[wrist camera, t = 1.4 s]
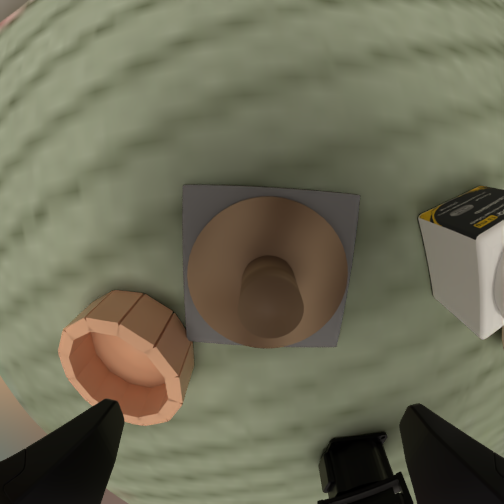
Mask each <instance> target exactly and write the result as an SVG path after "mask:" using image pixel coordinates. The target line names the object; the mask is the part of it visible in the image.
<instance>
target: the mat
mask: <svg viewBox="0 0 504 504" xmlns="http://www.w3.org/2000/svg"><path fill="white" fill-rule="evenodd" d="M261 196H274V197H283V198H287V199H291V200H294V201H297V202H299V203H301V204H304V205H305V206H307V207H309V208H310V209H312V210H314V211H315V212H316V213H318V214H319V215H320V216H321V217H323V218H324V219H325V220H326V221H327V222H328V223H329V224H330V225H331V227H332V228H333V229H334V231H335V232H336V234H337V235H338V237H339V239H340V241H341V243H342V245H343V248H344V251H345V254H346V259H347V266H348V277H347V285H346V289H345V293H344V296H343V299H342V301H341V303H340V305H339V307H338V309H337V311H336V312H335V313H334V315H333V316H332V318H331V319H330V320H329V321H328V322H327V323H326V324H325V325H324V326H323V327H322V328H321V329H320V330H319V331H317V332H316V333H314V334H313V335H311V336H310V337H308V338H306V339H304V340H302V341H300V342H297V343H295V344H292V345H288V346H284V347H337V342H338V338H339V333H340V328H341V324H342V319H343V314H344V308H345V303H346V298H347V292H348V286H349V280H350V274H351V268H352V261H353V254H354V247H355V239H356V231H357V223H358V213H359V203H360V195H357V194H347V193H337V192H327V191H315V190H303V189H289V188H273V187H255V186H231V185H187V184H185V185H183V275H184V300H185V318H186V334H187V338H188V340H189V341H195V342H206V343H218V344H232V345H242V344H239V343H236V342H233V341H231V340H229V339H227V338H225V337H224V336H222V335H220V334H219V333H218V332H216V331H215V330H214V329H213V328H211V327H210V326H209V325H208V324H207V323H206V321H205V320H204V319H203V318H202V316H201V315H200V314H199V312H198V310H197V309H196V307H195V305H194V303H193V300H192V298H191V295H190V291H189V287H188V279H187V270H188V262H189V256H190V253H191V250H192V247H193V245H194V243H195V241H196V239H197V237H198V236H199V234H200V233H201V231H202V230H203V228H204V227H205V226H206V225H207V224H208V223H209V222H210V221H211V220H212V219H213V218H214V217H215V216H216V215H217V214H218V213H220V212H221V211H222V210H224V209H225V208H227V207H229V206H230V205H233V204H235V203H237V202H239V201H242V200H246V199H249V198H254V197H261Z"/></svg>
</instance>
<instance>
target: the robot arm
mask: <svg viewBox="0 0 504 504" xmlns="http://www.w3.org/2000/svg"><path fill="white" fill-rule="evenodd" d="M123 427H124V416H123V413H122V410H121V408H120V405H119V403H118V401H116V400H113V399H108V398H105V399H103V400H102V401H100V402H99V403H97V404H95V405H94V406H92V407H91V408H89V409H88V410H86V411H85V412H83V413H82V414H80V415H78V416H77V417H75V418H74V419H72V420H71V421H69V422H67V423H66V424H64V425H63V426H61V427H59V428H58V429H56V430H55V431H53V432H51V433H50V434H48V435H46V436H45V437H43V438H42V439H40V440H38V441H37V442H35V443H33V444H32V445H30V446H28V447H27V448H26V449H23V450H21V451H20V452H18V453H16V454H14V455H13V456H11V457H9V458H7V459H5V460H3V461H0V504H101V501H102V498H103V495H104V492H105V489H106V486H107V483H108V481H109V478H110V475H111V472H112V469H113V467H114V464H115V460H116V456H117V452H118V448H119V443H120V439H121V435H122V431H123ZM400 433H401V438H402V443H403V448H404V454H405V459H406V464H407V468H408V471H409V475H410V478H411V482H412V485H413V489H414V493H415V496H416V500H417V504H504V458H503V457H501V456H500V455H498V454H497V453H495V452H494V453H493V451H492V450H490V449H489V448H487V447H485V446H484V445H482V444H481V443H479V442H478V441H476V440H475V439H473V438H471V437H470V436H468V435H467V434H465V433H464V432H462V431H461V430H459V429H458V428H456V427H455V426H453V425H452V424H450V423H449V422H447V421H446V420H444V419H443V418H441V417H440V416H438V415H437V414H435V413H434V412H432V411H431V410H429V409H428V408H426V407H425V406H423V405H422V404H413V405H410V406H408V407H407V409H406V411H405V413H404V415H403V417H402V419H401V421H400ZM386 438H387V434H386V433H385V432H384V433H377V434H371V435H364V436H356V437H347V438H337V439H333V440H331V441H330V443H329V445H328V448H327V450H326V452H325V453H324V454H323V456H322V458H321V460H320V463H319V471H320V477H321V484H322V490H323V492H324V493H328V496H329V499H326V500H319V501H317V504H413V501H412V498H411V495H410V493H409V490H408V488H407V485H406V483H405V480H404V478H403V475H402V473H401V472H398V473H396V475H393V472H392V469H391V466H390V464H389V461H388V458H387V455H386V453H385V450H384V447H383V443H384V442H385V440H386ZM400 491H401V493H398V492H400ZM395 493H396V494H395Z"/></svg>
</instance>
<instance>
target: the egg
mask: <svg viewBox="0 0 504 504" xmlns="http://www.w3.org/2000/svg"><path fill="white" fill-rule="evenodd" d="M502 343H503V349H504V325H503V327H502Z"/></svg>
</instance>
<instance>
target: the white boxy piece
mask: <svg viewBox="0 0 504 504" xmlns="http://www.w3.org/2000/svg"><path fill="white" fill-rule="evenodd" d="M418 220H419V224H420V228H421V233H422V237H423V241H424V246H425V251H426V256H427V261H428V266H429V272H430V278H431V284H432V291H433V296H434V298H435V299H436V300H437V301H439V302H440V303H441V304H442V305H443V306H444V307H446V308H447V309H448V310H449V311H450V312H451V313H452V314H454V315H455V316H456V317H457V318H458V319H459V320H460V321H461V322H463V323H464V324H465V325H466V326H467V327H468V328H469V329H470V330H471V331H473V332H474V333H475V334H476V335H477V336H478V337H479V338H480V339H483V340H484V339H486V338H487V337H489V336H490V335H491V334H493V333H494V332H496V331H497V330H498V329H500V328H501V327H502V326H503V325H504V190H501V189H496V188H490V187H484V186H478V187H476V188H474V189H472V190H470V191H468V192H466V193H464V194H462V195H460V196H458V197H456V198H454V199H452V200H450V201H448V202H445V203H443V204H441V205H439V206H437V207H435V208H433V209H431V210H428V211H426V212H424V213H422V214H420V215H419V217H418Z"/></svg>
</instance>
